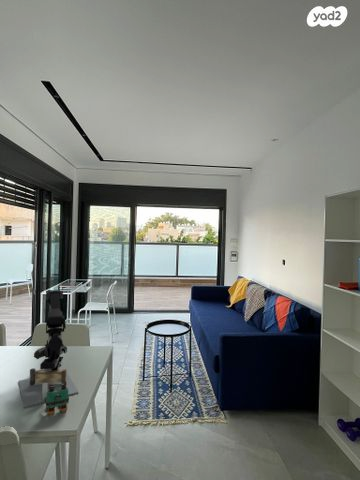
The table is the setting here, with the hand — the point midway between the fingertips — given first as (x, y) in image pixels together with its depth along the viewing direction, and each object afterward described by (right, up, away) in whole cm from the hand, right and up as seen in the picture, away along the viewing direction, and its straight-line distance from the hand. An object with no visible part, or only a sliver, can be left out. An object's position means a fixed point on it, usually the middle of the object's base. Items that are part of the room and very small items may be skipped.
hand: (54, 374), depth 135 cm
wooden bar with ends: (-2, -3, -3) cm, 4 cm away
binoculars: (+9, -4, -19) cm, 22 cm away
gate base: (-1, -4, -4) cm, 6 cm away
